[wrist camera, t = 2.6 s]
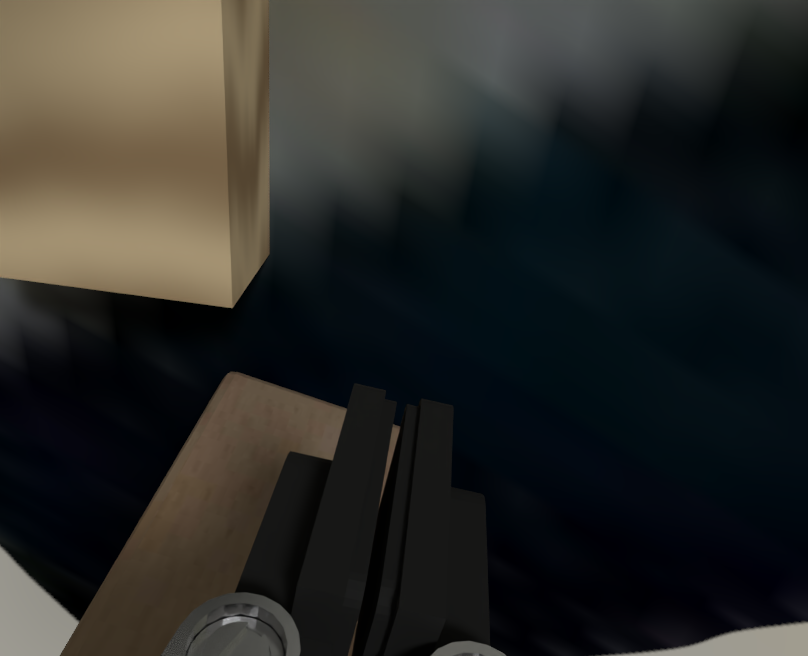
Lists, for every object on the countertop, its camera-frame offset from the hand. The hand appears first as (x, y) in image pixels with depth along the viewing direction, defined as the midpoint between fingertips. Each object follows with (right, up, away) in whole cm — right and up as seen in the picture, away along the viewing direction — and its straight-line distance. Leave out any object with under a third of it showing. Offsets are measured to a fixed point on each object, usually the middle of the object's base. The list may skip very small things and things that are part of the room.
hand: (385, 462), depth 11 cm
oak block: (-9, +10, +13) cm, 19 cm away
